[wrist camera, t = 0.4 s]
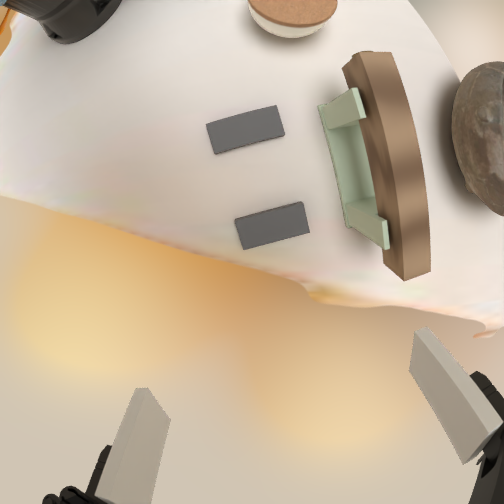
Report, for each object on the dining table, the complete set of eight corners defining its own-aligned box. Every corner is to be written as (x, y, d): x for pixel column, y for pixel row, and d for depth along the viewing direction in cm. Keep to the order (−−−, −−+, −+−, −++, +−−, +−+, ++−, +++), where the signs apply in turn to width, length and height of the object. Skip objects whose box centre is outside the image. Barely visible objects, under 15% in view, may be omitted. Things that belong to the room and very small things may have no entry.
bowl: (425, 201, 35) (492, 225, 21) (417, 56, 27) (476, 29, 13) (505, 209, 35) (557, 229, 21) (502, 94, 27) (553, 91, 13)
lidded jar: (236, 37, 28) (233, 3, 19) (259, -13, 24) (261, -48, 16) (313, 58, 29) (331, 31, 20) (329, 8, 26) (348, -24, 17)
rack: (317, 106, 31) (348, 83, 20) (357, 100, 31) (399, 80, 19) (346, 226, 36) (383, 255, 25) (382, 216, 36) (428, 240, 25)
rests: (207, 125, 32) (205, 124, 31) (275, 107, 31) (276, 105, 30) (243, 246, 37) (243, 250, 36) (307, 229, 37) (309, 232, 35)
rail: (339, 63, 22) (356, 46, 17) (368, 61, 21) (388, 46, 17) (383, 268, 29) (404, 286, 24) (408, 260, 29) (430, 276, 24)
